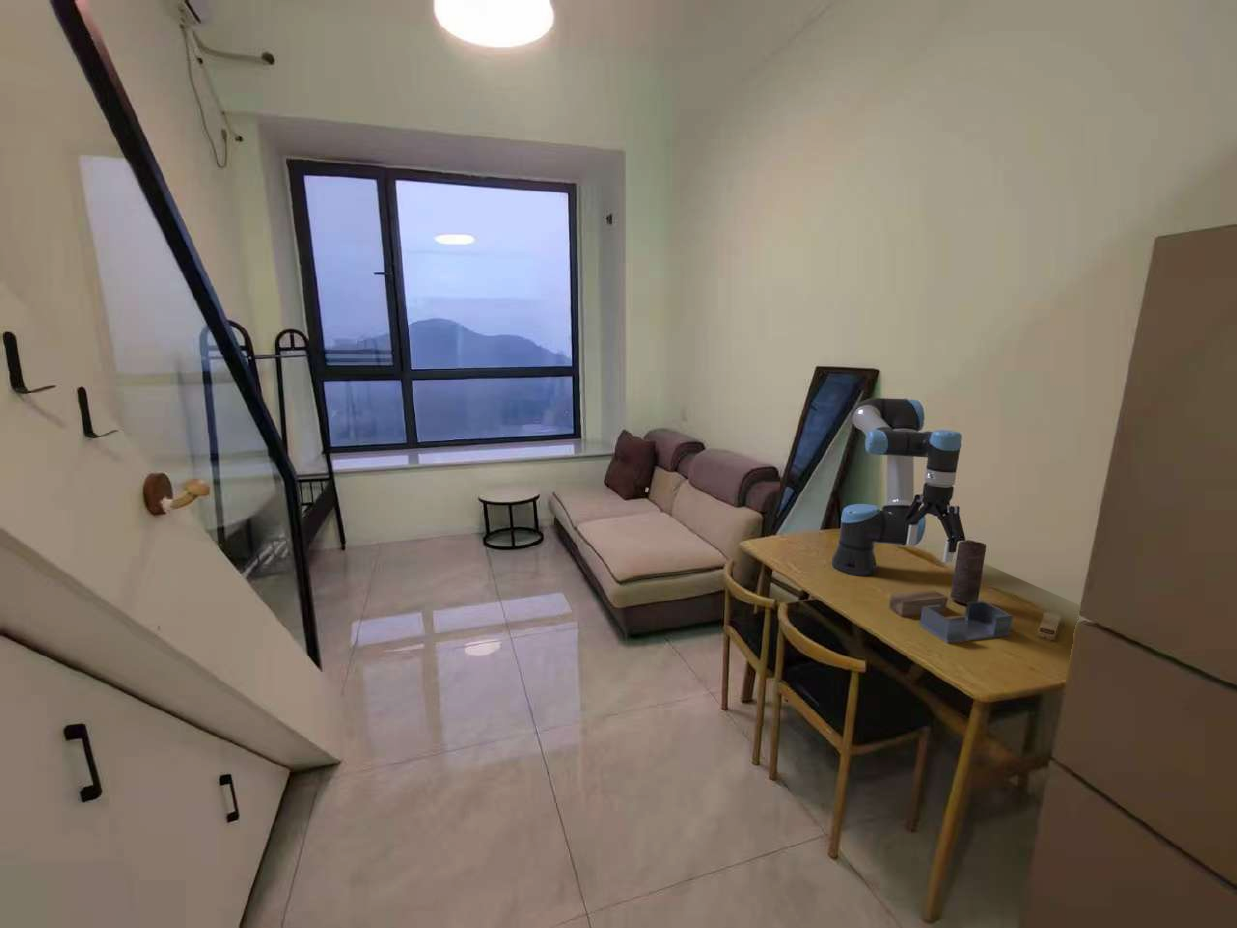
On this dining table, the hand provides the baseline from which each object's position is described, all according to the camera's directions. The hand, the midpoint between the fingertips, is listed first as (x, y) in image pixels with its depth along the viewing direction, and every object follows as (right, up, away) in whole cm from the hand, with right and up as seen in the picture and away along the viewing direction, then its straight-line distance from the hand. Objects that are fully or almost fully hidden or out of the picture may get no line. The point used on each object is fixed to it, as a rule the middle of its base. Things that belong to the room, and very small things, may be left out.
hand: (928, 553), depth 158 cm
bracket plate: (+6, -21, -8) cm, 23 cm away
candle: (+17, -17, +10) cm, 26 cm away
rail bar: (-1, -18, +4) cm, 19 cm away
